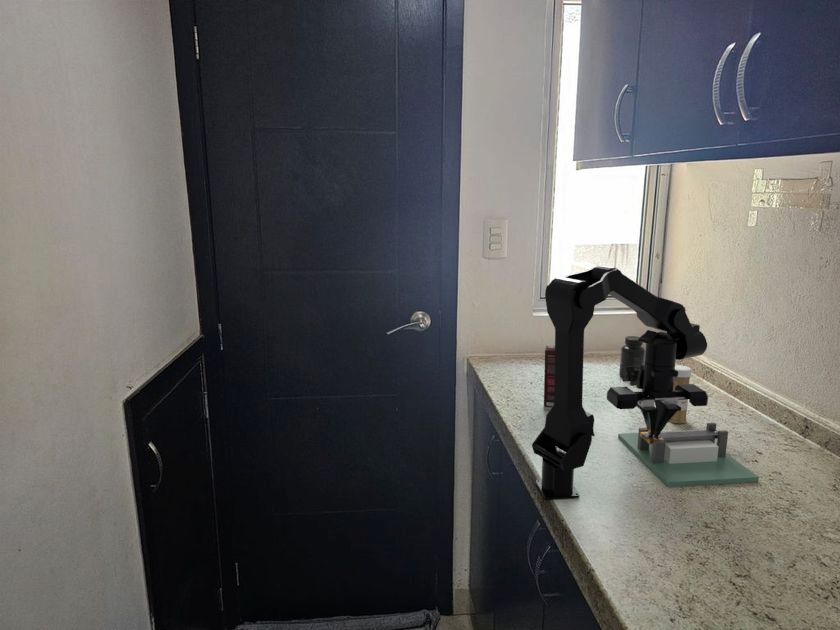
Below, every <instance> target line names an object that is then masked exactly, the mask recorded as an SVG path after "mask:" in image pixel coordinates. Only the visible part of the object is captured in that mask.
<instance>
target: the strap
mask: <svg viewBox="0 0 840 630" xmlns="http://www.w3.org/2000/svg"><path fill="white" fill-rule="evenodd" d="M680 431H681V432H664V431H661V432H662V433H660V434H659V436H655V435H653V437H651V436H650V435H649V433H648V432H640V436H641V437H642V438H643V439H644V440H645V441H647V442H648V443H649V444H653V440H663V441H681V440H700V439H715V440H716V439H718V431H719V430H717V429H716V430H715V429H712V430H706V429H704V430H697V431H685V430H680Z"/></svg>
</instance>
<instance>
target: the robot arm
mask: <svg viewBox="0 0 840 630" xmlns="http://www.w3.org/2000/svg"><path fill="white" fill-rule="evenodd" d="M609 295H610V296H611V297H612V298H614V299H616V300H617V301H619V302H620V303H622V304H623V305H625V306H627V307H629V308H630V309H631V310H633V311H634V312H635V313H636V317H637V318H638V320H639V321H640V323H643V325H644V326H646V327H649V328H651V329H655V330H659V331H660V332H659V331H658V332H657V331H654V330H649V329H647V330H646V331H645V333H643V334H641V335H640V336H639V337H640V338H639V339H638V340H639V341H640V342H642V343H643V344H644V343H645V347H644V349H645V361H644V364H641V366H640V370H637V371H635V369H634V367H633V366H627V367H623V368H622V377H621V379H622V381H623V382H629V383H630V384H629V385H630V386H632V387H634V386H635V387H636V388H637V389H638V390H641V391H633V390H632V389H631V388H629V387H628V386H610V387H609V389H608V390H607V391H606V400H607V401H608V402H609V403H610V404H612V405H613V406H614V407H615V408H616V409H618V410H632V409H635V408H636V407H637V408H638V409H640V411H641V414H642V416H643V419H644V423H645V428H647V430H648V433H649V435H650V436H651V437H653V435H655V436H659V434H660V433H661V432H663V431H664V428H665V427H666V426H667V424H668V423H669V422H670V421H669V420H670V419H671V418H672V417H673V415H674V414H675V413H676V412H677V411H681V407H680V406H678V400H687V399H688V403H690V405H691V406H693V407H707V406H708V403H709V395H708V393H707V392H706V391H705V390H704V389H702V388H700V387H699V386H697V385H696V384H694V383H689V384H681V385H677V386H676V387H675V390H673V384H674V377H678V371H676V370H675V365H676V360H678V361H679V360H680V361H681V360H685V359H689V358H694V357H699V356H702V355H704V353H705V352H706V351H707V348H708V342H707V339H706V336H705V334H704V333H703V332H701V330H700V328H701V327H700V324H697V323H696V324H695V323H692V322H691V321H690V319H689V316H688V314H687V312H686V311H687V310H686V307H685V306H684V305H683V304H682V303H679V302H676V301H674V300H670V299H666V298H662V297H660V296H656V295H655V294H653V293H652V292H650V291H649V290H648V289H646V288H644V287H643V286H642V285H640V284H639V283H637V282H635V280H632V279H631V278H629V277H628V276H627V275H625V274H623V272H622V271H621V270H620V269H618V268H617V267H612V266H606V265H596V266H593V267H591V268H589V269H587V270H583V271H580V272H575V273H572V274H571V273H570V274H568V275H565V276H558V277H555V278H554V279H552V280H551V281H550V283H549V284H547V285H546V288H545V294H544V298H545V306H546V312H547V315H548V317H549V319H550V321H551V324H552V325H553V327H554V333H555V334H554V346H555V388H554V405H553V406H552V408H551V409H550V410H548V412H547V414H546V416H545V423H544V427H543V429H542V430H541V431H540V432H539V434H538V436H537V437H536V438H535V439H534V441H532V443H531V447H532V451H533V454H535V455H538V456H539V457H541V458H542V459H541V460H542V463H541V479H536V480H535V484H536V486H537V488H538V489H539V491H540V493H541V495H542V496H543V498H544V499H545V500H558V499H559V500H560V499H574V498H575V499H576V498H580V493H579V491H578V490H577V489H576V488H575V486H574V475H575V474H574V472H575V469H578V468H582V467H584V465H585V463H586V459H587V457H588V453H589V452H590V447H591V445H592V441H593V437H595V431H594V425H595V415H594V414H593V413H590V412H588V411H586V410H585V408H584V407H583V388H584V387H583V386H584V383H583V382H584V378H583V377H584V346H585V328H586V327H587V326H588V325H589V323H590V321H591V320H592V318H593V317H594V313H595V306H596V305H599V304H600V303H602V302H604V301H606V300H607V298H608V296H609Z"/></svg>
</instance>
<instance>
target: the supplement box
mask: <svg viewBox="0 0 840 630" xmlns="http://www.w3.org/2000/svg"><path fill="white" fill-rule="evenodd" d="M543 376H544V380H543V383H544V385H543V387H544V388H543V410H544V411H550V409H551V408H552V406H553V405H554V388H555V345H554V346H553V345H546V346H545V348H544V375H543Z"/></svg>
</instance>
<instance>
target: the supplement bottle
mask: <svg viewBox="0 0 840 630" xmlns="http://www.w3.org/2000/svg"><path fill="white" fill-rule="evenodd" d="M640 337H641V336H638V335H637V336H636V335H635V336H634V335H628V336H626V337H624V344H625V345H622V346H621V349H620V359H619V371H618V373H619V376H620V378H622V368H623V367H627V366H633V367H634V369H635V371H637V370H640V366H641V364H644V361H645V347H644V346H643V344H644V343H643V342H640V341H639V340H638V339H639V338H640Z"/></svg>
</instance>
